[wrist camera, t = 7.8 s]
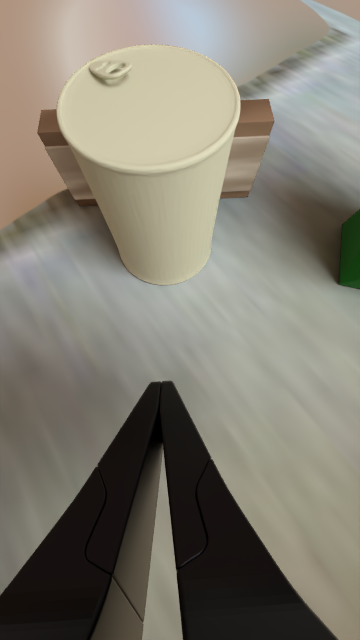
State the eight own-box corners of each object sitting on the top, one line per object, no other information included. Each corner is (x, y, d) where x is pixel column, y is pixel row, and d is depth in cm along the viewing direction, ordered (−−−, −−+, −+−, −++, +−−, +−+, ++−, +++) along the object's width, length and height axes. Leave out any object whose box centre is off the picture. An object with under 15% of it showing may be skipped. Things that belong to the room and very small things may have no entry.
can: (162, 192, 24) (144, 9, 12) (230, 239, 22) (284, 79, 10) (100, 247, 22) (7, 93, 10) (168, 304, 20) (149, 196, 8)
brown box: (247, 198, 23) (274, 122, 16) (79, 207, 23) (37, 134, 16) (244, 178, 24) (268, 99, 17) (80, 187, 24) (41, 110, 17)
